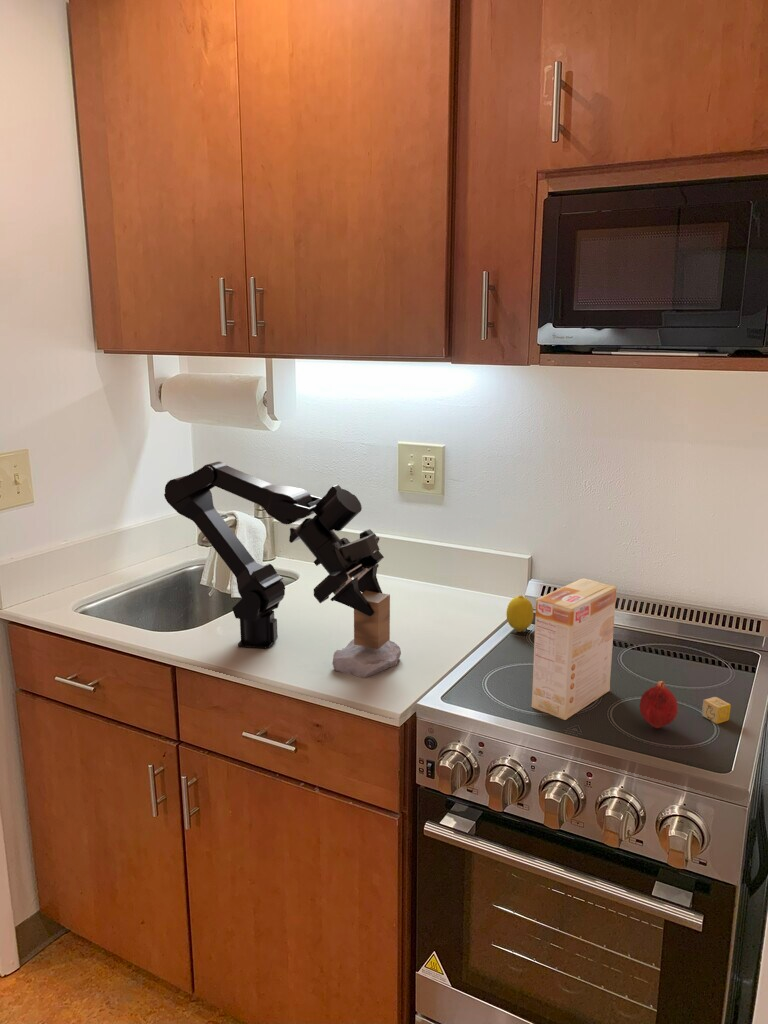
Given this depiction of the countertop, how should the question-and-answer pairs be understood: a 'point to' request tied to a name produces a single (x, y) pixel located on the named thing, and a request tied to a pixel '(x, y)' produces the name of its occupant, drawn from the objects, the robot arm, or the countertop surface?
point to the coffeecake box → (573, 647)
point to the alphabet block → (716, 710)
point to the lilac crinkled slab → (365, 659)
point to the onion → (658, 706)
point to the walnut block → (373, 621)
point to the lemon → (520, 613)
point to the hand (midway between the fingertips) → (378, 610)
